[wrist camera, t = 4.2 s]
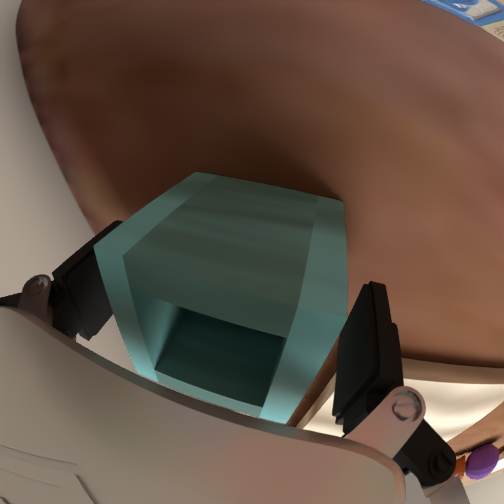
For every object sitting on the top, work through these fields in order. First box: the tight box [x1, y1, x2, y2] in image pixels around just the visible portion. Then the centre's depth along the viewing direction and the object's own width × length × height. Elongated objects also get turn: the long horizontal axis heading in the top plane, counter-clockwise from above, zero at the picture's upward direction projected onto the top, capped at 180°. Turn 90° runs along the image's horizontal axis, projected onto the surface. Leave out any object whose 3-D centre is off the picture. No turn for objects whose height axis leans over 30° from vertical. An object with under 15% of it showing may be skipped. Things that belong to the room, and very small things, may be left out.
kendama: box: [454, 444, 499, 480], centre depth 21 cm, size 6×6×20 cm
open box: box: [93, 172, 348, 424], centre depth 10 cm, size 6×6×6 cm
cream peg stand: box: [295, 358, 504, 442], centre depth 13 cm, size 16×16×10 cm
